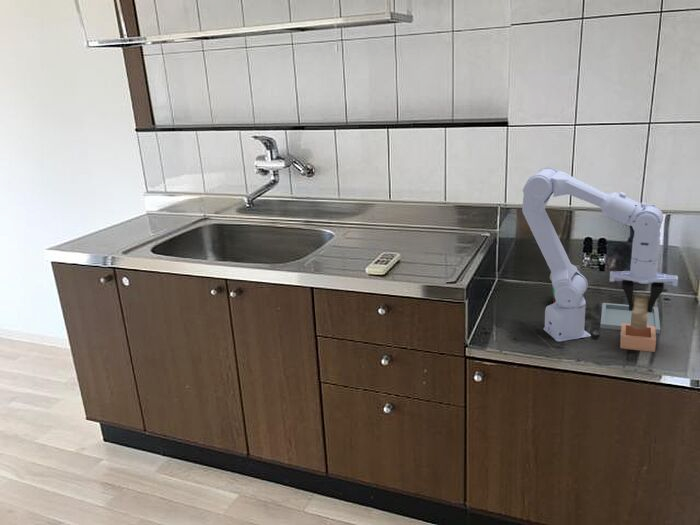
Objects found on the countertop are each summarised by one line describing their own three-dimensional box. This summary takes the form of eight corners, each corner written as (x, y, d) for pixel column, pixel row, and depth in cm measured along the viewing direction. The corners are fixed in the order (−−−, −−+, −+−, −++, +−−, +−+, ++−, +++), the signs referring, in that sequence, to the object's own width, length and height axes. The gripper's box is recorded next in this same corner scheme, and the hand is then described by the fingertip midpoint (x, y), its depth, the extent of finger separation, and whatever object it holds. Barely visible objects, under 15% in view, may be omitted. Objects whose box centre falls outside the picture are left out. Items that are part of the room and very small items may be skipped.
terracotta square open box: (620, 350, 146) (621, 336, 144) (620, 336, 152) (621, 323, 151) (654, 354, 142) (656, 340, 141) (653, 339, 149) (654, 326, 148)
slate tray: (600, 330, 156) (600, 323, 156) (602, 308, 168) (602, 302, 167) (659, 336, 150) (660, 329, 150) (657, 313, 162) (657, 307, 162)
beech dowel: (636, 330, 144) (639, 300, 141) (627, 324, 147) (629, 294, 144) (650, 328, 144) (652, 298, 141) (640, 322, 147) (643, 292, 145)
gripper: (610, 261, 139) (607, 313, 144) (681, 265, 133) (674, 319, 138) (611, 251, 145) (608, 302, 150) (678, 255, 139) (673, 307, 144)
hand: (640, 310), depth 144 cm, fingers closed on beech dowel, 4 cm apart
